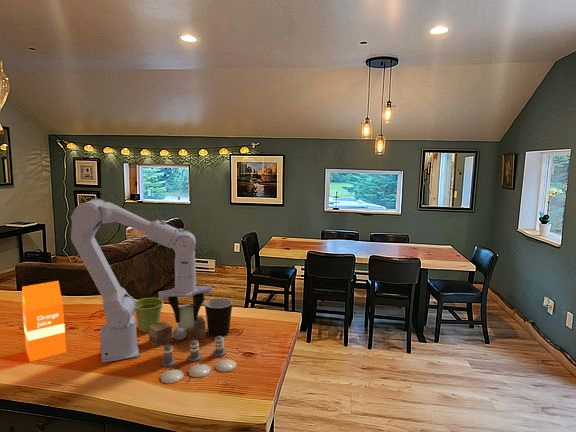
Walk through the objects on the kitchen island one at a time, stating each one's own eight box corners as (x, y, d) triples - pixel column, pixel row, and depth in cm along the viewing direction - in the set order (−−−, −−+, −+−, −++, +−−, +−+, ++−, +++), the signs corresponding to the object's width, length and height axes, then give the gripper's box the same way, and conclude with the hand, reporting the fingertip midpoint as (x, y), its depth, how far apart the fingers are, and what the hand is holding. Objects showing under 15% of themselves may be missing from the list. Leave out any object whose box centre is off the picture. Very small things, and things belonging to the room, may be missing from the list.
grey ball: (174, 343, 117) (173, 331, 117) (172, 337, 121) (172, 325, 120) (187, 341, 119) (187, 328, 118) (185, 335, 122) (185, 323, 122)
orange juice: (25, 350, 111) (19, 283, 108) (61, 341, 117) (56, 277, 114) (29, 362, 105) (23, 290, 102) (66, 352, 111) (61, 284, 108)
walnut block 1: (156, 347, 115) (156, 331, 114) (149, 341, 119) (148, 325, 118) (172, 342, 118) (172, 326, 118) (164, 336, 122) (164, 321, 121)
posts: (162, 368, 104) (161, 350, 103) (160, 361, 107) (160, 344, 106) (227, 355, 111) (227, 339, 110) (224, 349, 114) (223, 333, 113)
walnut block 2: (188, 339, 120) (188, 324, 119) (186, 333, 124) (185, 318, 124) (205, 337, 122) (205, 322, 121) (201, 330, 126) (201, 315, 126)
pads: (161, 385, 96) (161, 383, 96) (159, 373, 101) (159, 372, 101) (238, 369, 104) (238, 367, 104) (233, 359, 109) (233, 357, 109)
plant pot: (167, 322, 132) (166, 297, 130) (159, 335, 123) (158, 308, 121) (139, 322, 132) (138, 297, 130) (129, 334, 122) (127, 308, 121)
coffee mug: (226, 340, 120) (226, 309, 118) (200, 337, 122) (200, 306, 120) (239, 324, 131) (239, 296, 130) (214, 321, 133) (214, 293, 131)
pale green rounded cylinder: (180, 329, 110) (179, 311, 110) (177, 323, 114) (176, 305, 113) (195, 327, 112) (195, 308, 111) (192, 321, 116) (191, 303, 115)
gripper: (160, 281, 104) (161, 329, 106) (214, 276, 110) (214, 321, 112) (157, 274, 111) (158, 319, 113) (208, 269, 117) (208, 312, 119)
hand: (186, 320), depth 113 cm, fingers closed on pale green rounded cylinder, 4 cm apart
